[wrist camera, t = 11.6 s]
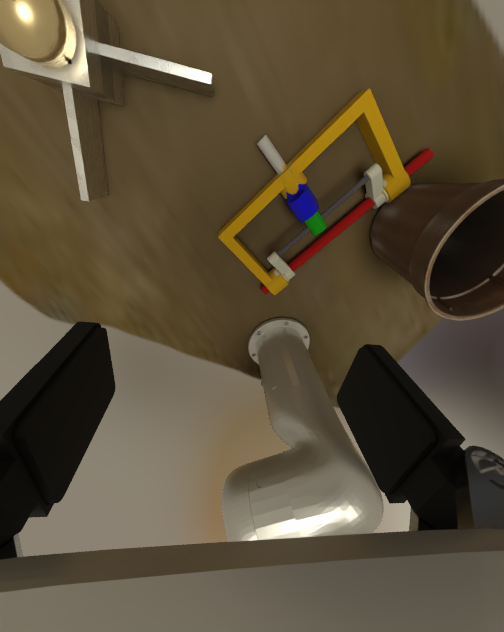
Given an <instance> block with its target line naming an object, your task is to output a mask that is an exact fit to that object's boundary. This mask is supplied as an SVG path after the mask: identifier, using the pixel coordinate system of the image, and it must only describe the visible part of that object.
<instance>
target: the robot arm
mask: <svg viewBox="0 0 504 632" xmlns="http://www.w3.org/2000/svg"><path fill="white" fill-rule="evenodd" d="M309 344H310V337H309V334H308V331H307V329H306V328H305V327H304V325H302V324H301V323H300V322H298V321H297V320H294V319H291V318H285V317H284V318H274V319H271V320H268V321H266V322H264V323H262V324H260V325H259V326H258V327H257V328H256V329H255V330H254V331H253V332H252V334H251V336H250V338H249V341H248V350H249V354H250V356H251V358H252V359H253V360H254V361H255V362H256V363H257V364H259V366H260V372H261V377H262V382H261V385H262V386H263V387H264V393H265V398H266V403H267V409H268V415H269V420H270V423H271V425H272V428H273V430H274V431H275V433H276V434H277V435H278V436H279V437H280V439H282V440H283V441H284V442H285V443H286V444H287V445H289V446H290V447H291V448H292V449H290V450H287V451H284V452H283V453H280V454H277V455H273V456H270V457H267V458H264V459H260V460H257V461H254V462H251V463H248V464H245V465H242V466H240V467H238V468H236V469H234V470H233V471H232V472H231V473H230V474H229V475H228V477H227V478H226V480H225V483H224V486H223V493H222V509H223V518H224V524H225V530H226V534H227V539H228V542H218V543H203V544H188V545H172V546H159V547H143V548H126V549H112V550H98V551H87V552H75V553H63V554H51V555H39V556H27V557H23V554H22V549H21V543H20V538H19V532H20V531H21V530H22V528H23V526H24V525H25V523H26V521H27V519H28V518H29V517H47V515H48V514H49V512H50V510H51V508H52V506H53V504H54V503H58V502H60V501H61V499H62V498H63V496H64V494H65V493H66V491H67V489H68V487H69V484H70V483H71V481H72V478H73V476H74V474H75V472H76V470H77V468H78V466H79V464H80V462H81V460H82V458H83V456H84V454H85V452H86V450H87V448H88V446H89V444H90V442H91V440H92V438H93V436H94V434H95V432H96V430H97V428H98V426H99V424H100V422H101V419H102V418H103V415H104V413H105V411H106V409H107V407H108V405H109V403H110V401H111V399H112V397H113V395H114V392H115V381H114V375H113V368H112V361H111V355H110V349H109V343H108V336H107V331H106V329H105V328H101V325H100V324H99V323H91V322H78V323H76V324H75V325H74V326H73V327H72V328H71V329H70V330H69V332H68V333H66V335H65V336H64V337H63V338H62V339H61V340H60V341H59V342H58V343H57V344H56V345H55V346H54V347H53V348H52V349H51V350H50V351H49V352H48V353H47V354H46V355H45V356H44V357H43V358H42V359H41V360H40V361H39V362H38V363H37V364H36V365H35V366H34V367H33V368H32V369H31V370H30V371H29V372H28V373H27V374H26V375H25V376H24V377H23V378H22V379H21V380H20V381H19V382H18V383H17V385H15V386H14V387H13V388H12V390H11V391H10V392H9V393H8V394H7V395H6V396H5V397H4V398H3V399H2V400H1V401H0V632H504V459H503V458H502V457H500V456H498V455H497V454H495V453H493V452H492V451H490V450H487V449H485V448H483V447H478V446H469V447H468V448H466V449H465V450H463V449H462V448H461V447H460V445H461V444H462V443H463V441H464V440H465V438H464V437H463V436H462V435H461V434H460V433H459V431H458V430H457V429H456V428H455V427H454V426H453V425H452V424H451V423H450V422H449V420H448V419H447V418H446V417H445V416H444V415H443V414H442V412H441V411H440V410H439V409H438V408H437V407H436V406H435V405H434V403H433V402H432V401H431V400H430V399H429V398H428V397H427V396H426V395H425V393H424V392H423V391H422V390H421V389H420V388H419V387H418V386H417V384H416V383H415V382H414V381H413V380H412V379H411V378H410V377H409V376H408V374H407V373H406V372H405V371H404V370H403V369H402V368H401V367H400V365H399V364H398V363H397V362H396V361H395V360H394V359H393V358H392V356H391V355H390V354H389V353H388V352H387V351H386V350H385V349H384V348H383V347H382V346H380V345H370V344H366V345H364V346H363V347H362V348H360V349H359V350H358V352H357V354H356V357H355V359H354V361H353V363H352V365H351V367H350V369H349V371H348V373H347V376H346V378H345V380H344V382H343V384H342V386H341V388H340V390H339V392H338V395H337V402H338V405H339V407H340V409H341V411H342V413H343V415H344V416H345V419H346V421H347V423H348V425H349V427H350V429H351V431H352V433H353V435H354V437H355V440H356V442H357V444H358V446H359V448H360V450H361V452H362V454H363V456H364V458H365V460H366V462H367V464H368V465H367V464H366V462H365V461H364V459H363V458H362V456H361V455H360V453H359V451H358V450H357V448H356V447H355V445H354V444H353V442H352V441H351V439H350V438H349V436H348V434H347V433H346V431H345V429H344V427H343V425H342V424H341V422H340V420H339V418H338V416H337V414H336V412H335V410H334V407H333V405H332V403H331V401H330V399H329V397H328V394H327V392H326V390H325V388H324V386H323V383H322V381H321V379H320V377H319V375H318V372H317V370H316V368H315V366H314V364H313V361H312V359H311V357H310V355H309V353H308V348H309ZM368 466H369V467H368ZM380 490H381V491H382V492H384V493H385V495H386V497H387V499H388V501H389V503H404V502H405V501H406V500H408V502H409V504H410V506H411V513H410V526H409V531H408V532H388V533H373V532H374V531H375V530H376V529H377V527H378V526H379V524H380V523H381V520H382V517H383V511H384V510H383V509H384V507H383V499H382V495H381V492H380Z"/></svg>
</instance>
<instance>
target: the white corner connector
mask: <svg viewBox="0 0 504 632" xmlns="http://www.w3.org/2000/svg"><path fill="white" fill-rule="evenodd" d="M64 2H65V3H66V5H67V7H68V9H69V11H70V14H71V17H72V19H73V23H74V26H75V32H76V47H75V52H74V55H73V57H72V59H71V62H72V64H66V65H65V66H63V67H61V68H56V69H51V68H46V67H43V66H40V65H38V64H36V63H34V62H32V61H30V60H28V59H27V58H25V57H23V56H21V55H19V54H17V53H15V52H13V51H11V50H9V49H8V48H6V47H5V46H3V45H2V44H1V43H0V54H1V58H2V62H3V66H4V67H6V68H9V69H11V70H13V71H16V72H18V73H20V74H23V75H25V76H27V77H30V78H32V79H34V80H37V81H39V82H41V83H44V84H46V85H48V86H51V87H53V88H55V89H58V90H60V91H63V93H64V99H65V105H66V111H67V117H68V124H69V130H70V136H71V142H72V148H73V154H74V160H75V166H76V172H77V178H78V184H79V190H80V196H81V200H84V201H91V200H95V199H98V198H101V197H104V196H107V195H109V193H108V184H107V175H106V166H105V157H104V148H103V139H102V131H101V122H100V113H99V104H98V100H101V101H105V102H109V103H113V104H118V105H122V106H124V96H123V82H122V74H124V75H128V76H132V77H136V78H140V79H144V80H148V81H152V82H156V83H159V84H163V85H167V86H171V87H175V88H179V89H183V90H187V91H191V92H195V93H198V94H202V95H206V96H210V97H213V82H212V73H209V72H205V71H201V70H198V69H194V68H190V67H187V66H183V65H179V64H176V63H172V62H169V61H165V60H161V59H158V58H154V57H150V56H147V55H143V54H139V53H136V52H132V51H128V50H125V49H121V48H120V39H119V27H118V26H117V24H116V23H115V22H114V20H113V19H112V18H111V17H110V15H109V14H108V13H107V11H106V10H105V9H104V8H103V6H102V5H101V4H100V2H99V1H98V0H64Z"/></svg>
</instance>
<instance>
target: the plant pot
mask: <svg viewBox="0 0 504 632" xmlns="http://www.w3.org/2000/svg"><path fill="white" fill-rule="evenodd" d="M370 237H371V242H372V249H373V251H374V252H375V254H376V255H377V256H378V257H379V258H381V259H382V260H383V261H385V262H386V263H387V264H388V265H389V266H391V267H392V268H393V269H394V270H395V271H397V272H398V273H399V274H400V275H402V276H403V277H404V278H405V279H406V280H407V281H409V282H410V283H411V284H412V285H413V287H414V288H415V290H416V291H417V292H418V293H419V294H420V295H421V296H422V297H424V298H425V300H426V302H427V304H428V306H429V307H430V308H431V309H432V310H433V311H434V312H435V313H437V314H438V315H440V316H442V317H445V318H447V319H452V320H468V319H475V318H479V317H482V316H485V315H488V314H491V313H494V312H496V311H498V310H500V309H502V308H504V179H499V180H492V181H488V182H484V183H463V184H413V185H411V186H410V187H409V188H407V189H406V190H405V191H404V192H402V193H401V194H400V195H399V196H397V197H396V198H395V199H394V200H393V201H391V202H390V203H386V202H385V203H384V204H383V205H382V207H381V208H380V209H379V211H378V213H377V215H376V216H375V218H374V221H373V223H372V227H371V232H370Z"/></svg>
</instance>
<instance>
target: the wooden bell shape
mask: <svg viewBox="0 0 504 632" xmlns="http://www.w3.org/2000/svg"><path fill="white" fill-rule="evenodd" d="M0 43H1V44H2V45H3V46H5V47H6V48H8V49H9V50H11V51H13V52H15V53H17V54H19V55H21V56H23V57H25V58H27V59H28V60H30V61H32V62H34V63H36V64H38V65H40V66H43V67H46V68H51V69H56V68H61V67H63V66H65V65H66V64H72V62H71V59H72V57H73V55H74V52H75V47H76V32H75V26H74V23H73V19H72V17H71V14H70V11H69V9H68V7H67V5H66V3H65V2H64V0H0Z"/></svg>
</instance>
